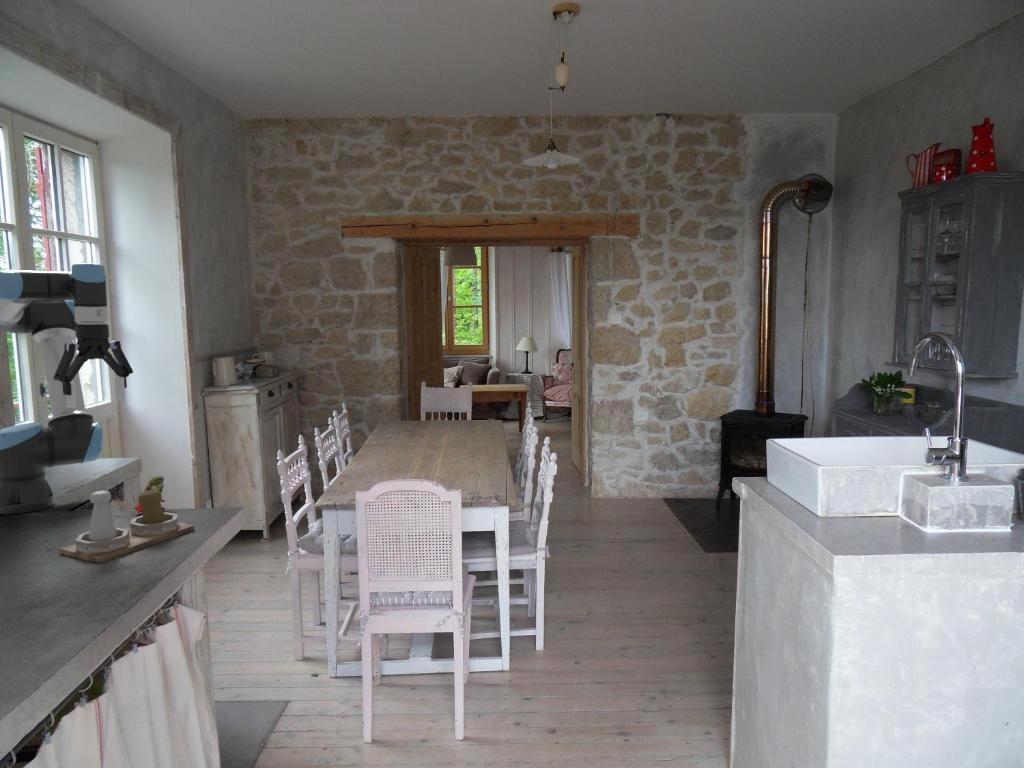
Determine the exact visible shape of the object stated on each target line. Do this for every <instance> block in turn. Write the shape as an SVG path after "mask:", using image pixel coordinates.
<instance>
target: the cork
mask: <svg viewBox="0 0 1024 768" xmlns="http://www.w3.org/2000/svg"><path fill="white" fill-rule="evenodd" d="M144 491H145V490H144ZM144 491H143V492H141V493H140V494H139V495H140V496H139V495H138V496H139V498H138V503H139V502H140V504H141V505H142V506H143V512H142V515H143V524H144V525H145V524H156V523H162V522H165V521H166V518H165V515H164V512H165V511H164V512H163V509H162V507H163V506H162V502H161V500H162V499H163V497H162V495H163V494H162V492H160V491H158V490H149V491H145V492H144Z"/></svg>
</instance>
